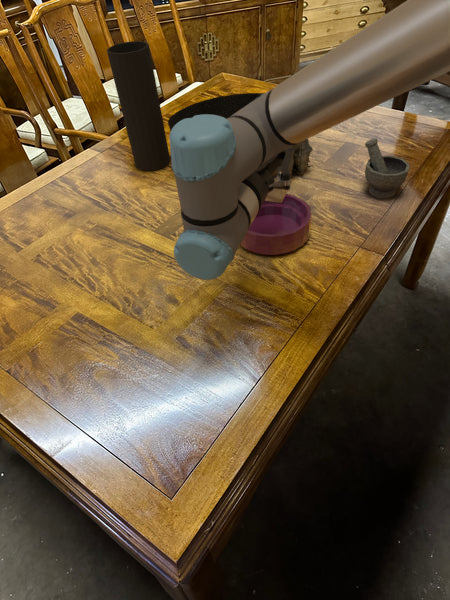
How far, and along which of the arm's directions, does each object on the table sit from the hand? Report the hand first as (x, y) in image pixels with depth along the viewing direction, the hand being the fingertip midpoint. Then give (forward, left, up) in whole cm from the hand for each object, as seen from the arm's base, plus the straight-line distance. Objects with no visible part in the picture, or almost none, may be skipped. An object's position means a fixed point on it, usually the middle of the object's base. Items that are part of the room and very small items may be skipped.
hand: (278, 134), depth 79 cm
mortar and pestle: (-14, -26, -22) cm, 37 cm away
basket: (+21, -18, -22) cm, 36 cm away
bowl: (0, +2, -22) cm, 22 cm away
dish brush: (-1, +5, -10) cm, 11 cm away
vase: (+48, -11, -22) cm, 54 cm away
